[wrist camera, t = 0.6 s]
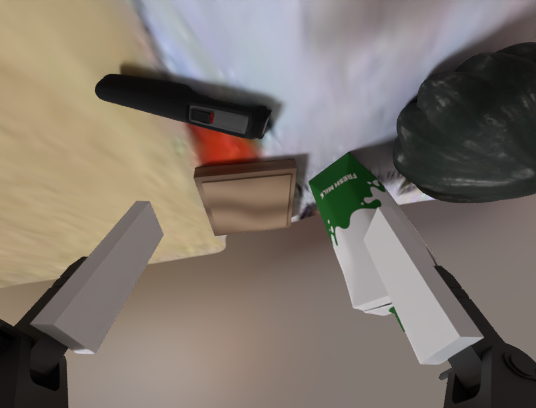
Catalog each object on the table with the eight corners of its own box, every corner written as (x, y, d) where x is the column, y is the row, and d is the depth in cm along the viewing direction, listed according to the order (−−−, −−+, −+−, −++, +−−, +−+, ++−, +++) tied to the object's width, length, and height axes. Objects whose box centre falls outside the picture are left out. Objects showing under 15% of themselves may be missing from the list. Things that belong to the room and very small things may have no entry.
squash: (521, 165, 27) (754, 170, 12) (396, 207, 31) (462, 247, 17) (486, 57, 25) (701, -75, 11) (362, 117, 30) (401, 78, 16)
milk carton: (330, 205, 37) (389, 338, 23) (299, 181, 31) (352, 336, 18) (377, 175, 32) (481, 315, 19) (351, 142, 27) (469, 303, 14)
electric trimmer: (104, 55, 18) (87, 66, 16) (273, 105, 23) (277, 118, 20) (112, 99, 20) (99, 114, 18) (262, 135, 25) (265, 150, 23)
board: (195, 167, 27) (193, 179, 25) (293, 158, 28) (297, 169, 26) (215, 226, 37) (214, 237, 35) (287, 218, 38) (290, 228, 36)
